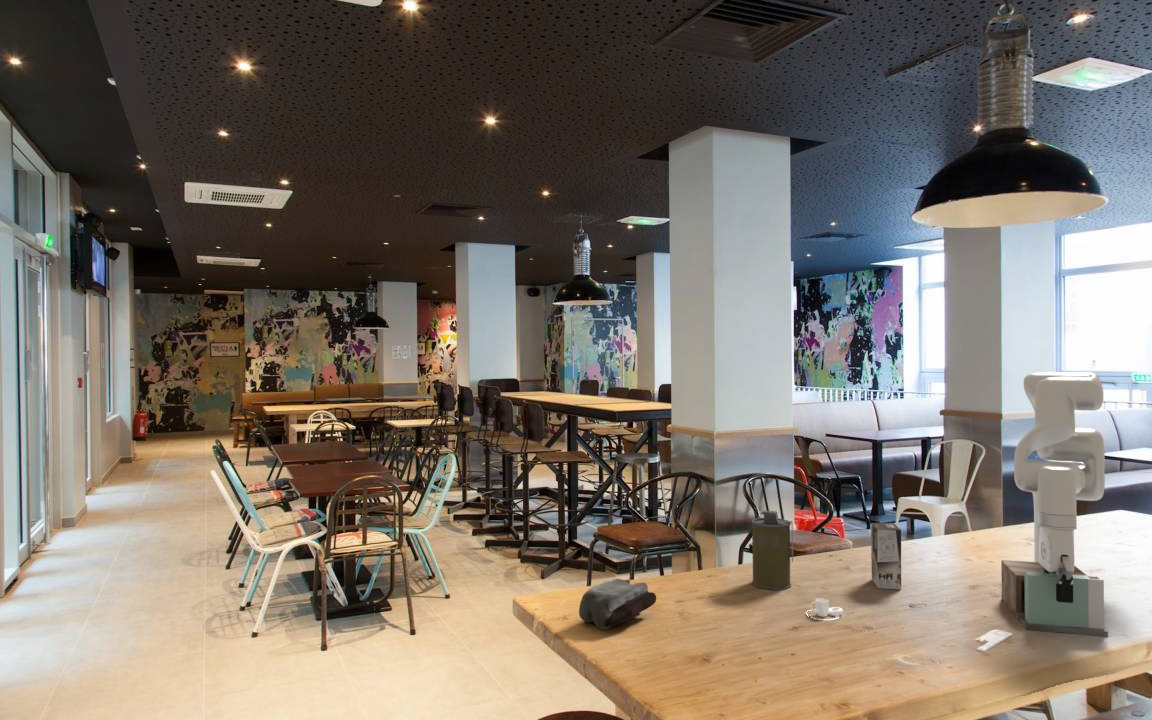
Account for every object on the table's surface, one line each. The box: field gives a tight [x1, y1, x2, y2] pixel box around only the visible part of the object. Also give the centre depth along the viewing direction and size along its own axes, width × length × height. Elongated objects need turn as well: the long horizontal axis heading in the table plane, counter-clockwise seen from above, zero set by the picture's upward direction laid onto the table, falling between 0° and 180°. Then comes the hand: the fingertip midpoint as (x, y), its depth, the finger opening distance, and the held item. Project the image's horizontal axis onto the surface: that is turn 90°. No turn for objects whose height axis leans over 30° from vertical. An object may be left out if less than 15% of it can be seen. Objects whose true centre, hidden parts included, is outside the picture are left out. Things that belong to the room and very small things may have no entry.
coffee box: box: [870, 522, 902, 590], centre depth 210 cm, size 9×6×16 cm
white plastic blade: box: [974, 628, 1013, 653], centre depth 168 cm, size 5×15×1 cm, turn 130°
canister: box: [751, 510, 794, 591], centre depth 210 cm, size 11×10×20 cm
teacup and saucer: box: [804, 597, 844, 622], centre depth 185 cm, size 9×8×4 cm
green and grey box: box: [1025, 572, 1105, 629], centre depth 175 cm, size 3×15×11 cm, turn 74°
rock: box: [578, 578, 657, 630], centre depth 182 cm, size 20×12×8 cm, turn 143°
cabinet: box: [1000, 559, 1109, 637], centre depth 183 cm, size 23×16×10 cm
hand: (1057, 595), depth 174 cm, fingers open, 9 cm apart
